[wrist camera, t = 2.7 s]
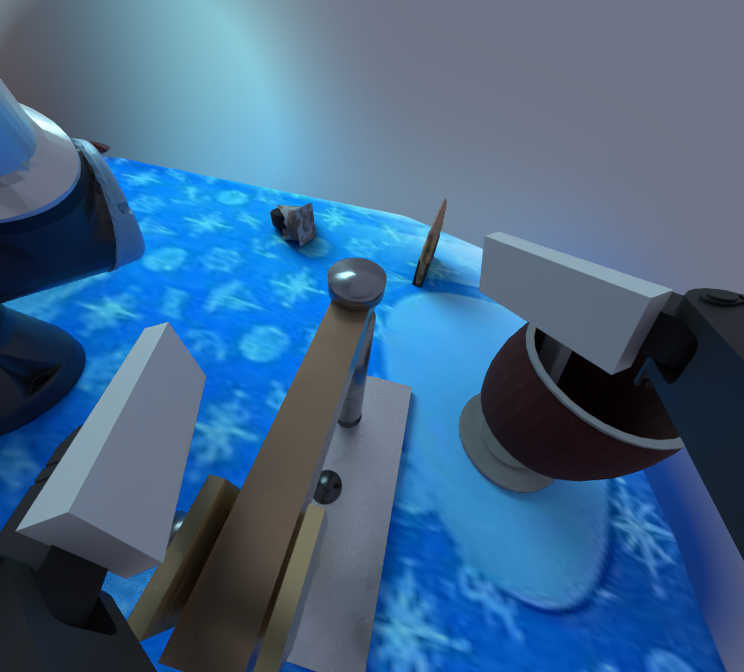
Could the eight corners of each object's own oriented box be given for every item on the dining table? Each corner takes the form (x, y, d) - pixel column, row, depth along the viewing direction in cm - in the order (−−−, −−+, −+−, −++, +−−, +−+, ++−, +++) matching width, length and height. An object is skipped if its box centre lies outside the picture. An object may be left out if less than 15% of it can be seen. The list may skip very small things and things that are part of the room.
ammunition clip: (424, 253, 58) (441, 195, 49) (433, 256, 58) (451, 197, 48) (412, 284, 51) (428, 224, 42) (421, 287, 51) (439, 227, 42)
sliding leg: (319, 596, 23) (272, 688, 7) (257, 577, 24) (79, 620, 7) (334, 539, 26) (325, 508, 10) (278, 522, 26) (178, 465, 10)
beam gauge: (362, 682, 21) (460, 1229, 4) (195, 626, 23) (-302, 862, 5) (410, 390, 38) (471, 246, 20) (312, 365, 39) (289, 207, 21)
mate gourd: (589, 472, 33) (812, 396, 17) (498, 524, 29) (683, 485, 13) (506, 367, 42) (606, 253, 26) (426, 395, 37) (488, 280, 22)
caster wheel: (287, 226, 64) (327, 230, 62) (257, 241, 56) (302, 247, 53) (282, 194, 60) (324, 197, 58) (249, 205, 52) (297, 210, 49)
